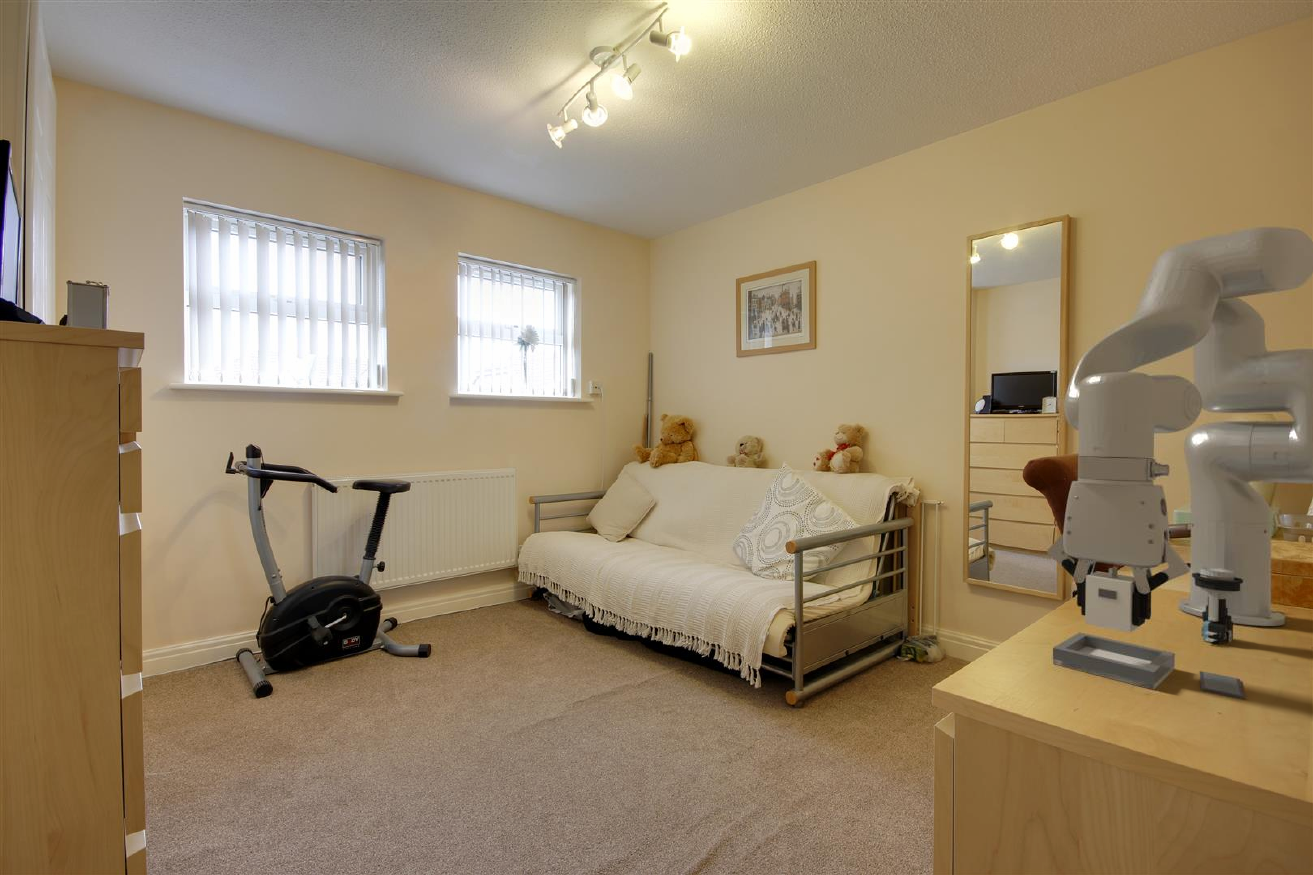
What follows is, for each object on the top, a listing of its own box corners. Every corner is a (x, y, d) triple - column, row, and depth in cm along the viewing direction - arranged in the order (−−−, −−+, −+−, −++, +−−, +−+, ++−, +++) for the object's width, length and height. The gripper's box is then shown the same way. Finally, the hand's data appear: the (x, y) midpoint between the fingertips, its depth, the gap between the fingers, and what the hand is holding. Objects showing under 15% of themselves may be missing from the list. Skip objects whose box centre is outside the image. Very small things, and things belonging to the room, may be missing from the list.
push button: (1233, 650, 81) (1233, 576, 81) (1182, 639, 86) (1183, 569, 86) (1247, 642, 85) (1248, 571, 85) (1198, 631, 90) (1198, 564, 90)
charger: (1096, 617, 78) (1097, 562, 78) (1140, 626, 75) (1140, 568, 75) (1085, 623, 75) (1085, 566, 75) (1129, 633, 72) (1130, 572, 72)
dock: (1079, 646, 82) (1079, 632, 82) (1174, 669, 74) (1174, 653, 74) (1052, 663, 76) (1053, 647, 76) (1153, 689, 68) (1153, 672, 68)
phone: (1199, 677, 73) (1199, 670, 73) (1239, 685, 71) (1239, 678, 71) (1201, 695, 68) (1201, 687, 68) (1244, 705, 66) (1244, 697, 66)
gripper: (1211, 475, 71) (1209, 630, 71) (1048, 468, 84) (1046, 599, 84) (1198, 476, 66) (1196, 643, 66) (1028, 469, 79) (1025, 608, 79)
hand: (1112, 617), depth 75 cm, fingers closed on charger, 4 cm apart
